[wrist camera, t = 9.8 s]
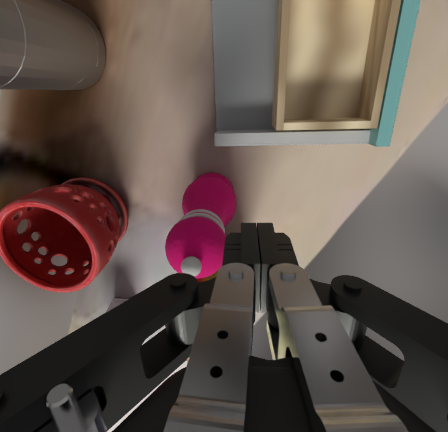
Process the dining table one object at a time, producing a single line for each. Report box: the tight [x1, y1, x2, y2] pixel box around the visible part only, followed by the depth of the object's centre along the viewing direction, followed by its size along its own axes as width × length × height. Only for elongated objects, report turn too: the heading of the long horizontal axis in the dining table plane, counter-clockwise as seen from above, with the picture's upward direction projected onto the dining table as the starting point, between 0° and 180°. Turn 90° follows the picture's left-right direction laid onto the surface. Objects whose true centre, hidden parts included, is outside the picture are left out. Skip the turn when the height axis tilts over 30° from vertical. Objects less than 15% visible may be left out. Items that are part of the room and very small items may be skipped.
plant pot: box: [0, 178, 128, 292], centre depth 38 cm, size 13×13×12 cm
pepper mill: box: [165, 173, 236, 278], centre depth 32 cm, size 7×7×20 cm
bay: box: [211, 0, 420, 147], centre depth 31 cm, size 20×18×6 cm
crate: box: [272, 0, 401, 131], centre depth 30 cm, size 11×14×5 cm
